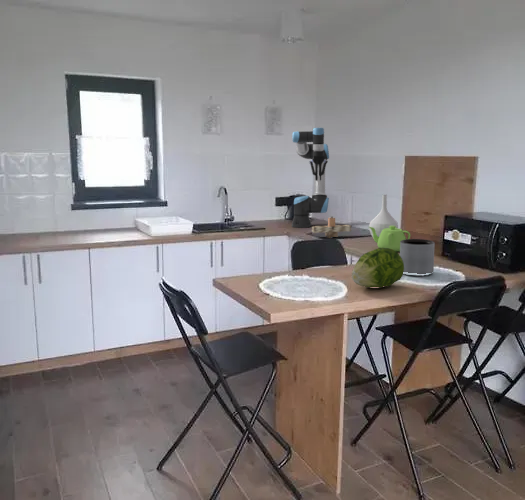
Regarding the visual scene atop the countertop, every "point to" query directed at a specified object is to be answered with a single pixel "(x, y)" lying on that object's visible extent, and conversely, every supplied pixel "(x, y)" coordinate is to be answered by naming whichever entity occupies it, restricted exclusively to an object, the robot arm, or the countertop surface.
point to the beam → (331, 230)
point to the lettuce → (378, 268)
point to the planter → (417, 255)
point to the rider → (331, 222)
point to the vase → (382, 219)
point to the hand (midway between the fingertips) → (318, 185)
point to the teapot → (390, 237)
